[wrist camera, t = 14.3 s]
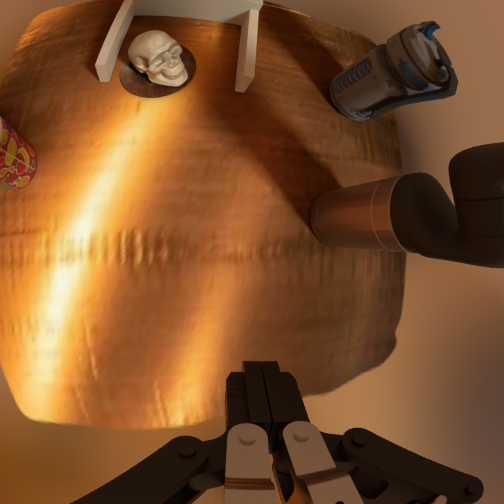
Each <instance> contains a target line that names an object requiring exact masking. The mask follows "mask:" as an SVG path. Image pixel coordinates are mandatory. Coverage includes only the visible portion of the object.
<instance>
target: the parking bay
mask: <svg viewBox="0 0 504 504" xmlns="http://www.w3.org/2000/svg"><path fill="white" fill-rule="evenodd" d="M262 5H263V0H124V2H123V4H122V6H121V8H120V10H119V12H118V13H117V15H116V17H115V20H114V22H113V24H112V26H111V28H110V30H109V32H108V34H107V37H106V39H105V41H104V44H103V46H102V48H101V51H100V53H99V56H98V59H97V61H96V64H95V67H96V70H97V73H98V77H99V80H100V82H109V80H110V77H111V74H112V71H113V68H114V65H115V62H116V59H117V56H118V53H119V51H120V48H121V45H122V43H123V40H124V38H125V35H126V33H127V30H128V28H129V26H130V23H131V21H132V19H133V17H134V15H150V16H173V17H185V18H195V19H203V20H211V21H217V22H223V23H229V24H234V25H239V26H242V28H241V36H240V45H239V54H238V63H237V73H236V83H235V91H237V92H242V93H244V92H245V90H246V89H247V87H248V86H249V85H250V83H251V82H252V80H253V79H254V73H255V58H256V43H257V29H258V15H259V10H260V9H261V7H262Z"/></svg>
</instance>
